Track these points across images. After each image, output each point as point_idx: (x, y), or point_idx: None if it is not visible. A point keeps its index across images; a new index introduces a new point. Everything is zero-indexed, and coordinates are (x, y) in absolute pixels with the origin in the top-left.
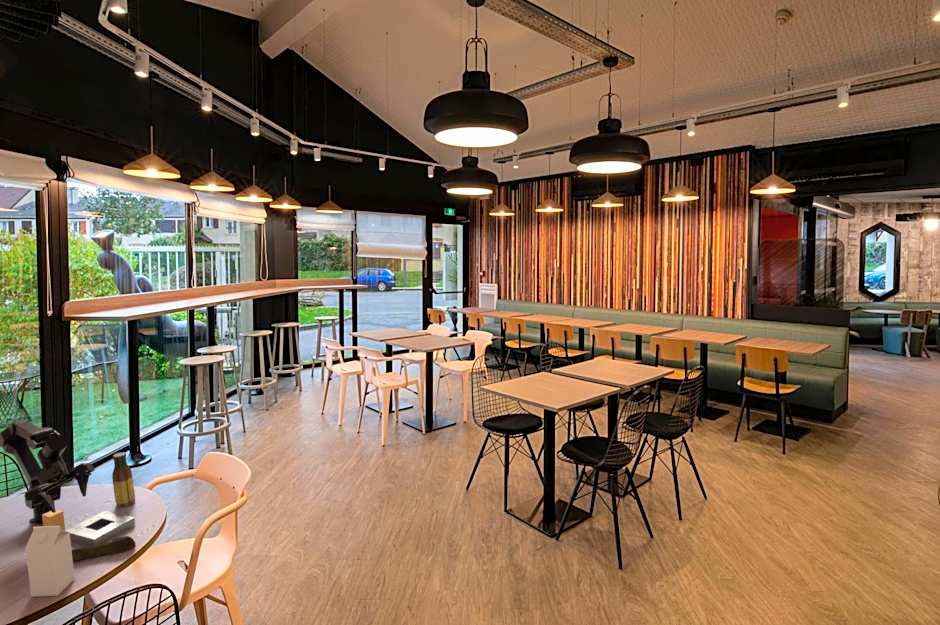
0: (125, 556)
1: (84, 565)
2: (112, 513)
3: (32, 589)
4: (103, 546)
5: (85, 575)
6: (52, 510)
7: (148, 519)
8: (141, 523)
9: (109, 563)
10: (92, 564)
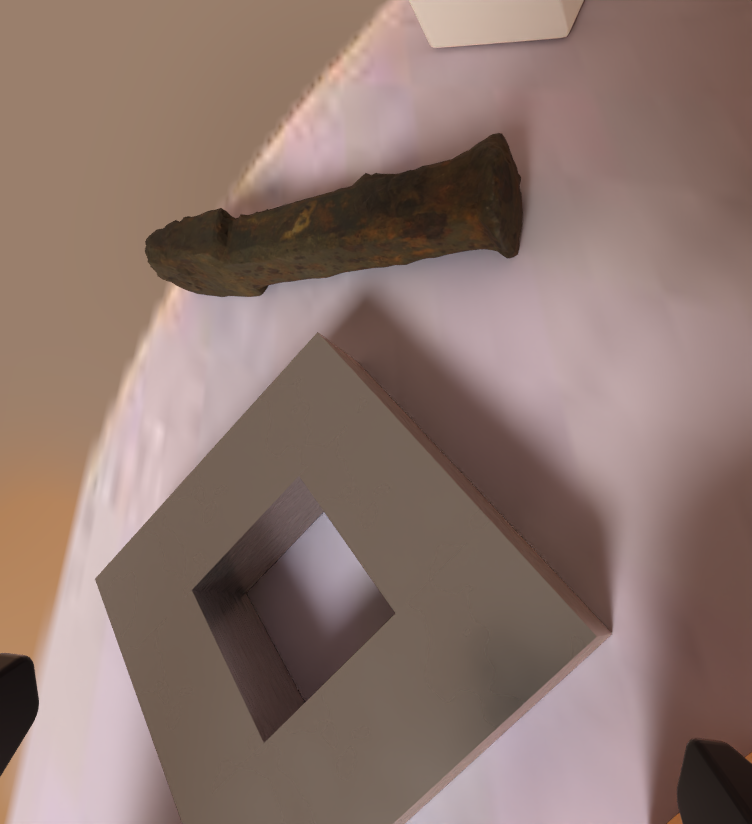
0: None
1: None
2: (187, 804)
3: None
4: (270, 210)
5: (388, 84)
6: (736, 775)
7: (87, 632)
8: None
9: (293, 173)
10: None
